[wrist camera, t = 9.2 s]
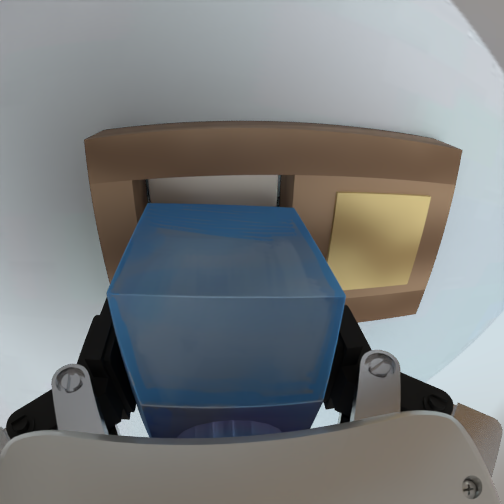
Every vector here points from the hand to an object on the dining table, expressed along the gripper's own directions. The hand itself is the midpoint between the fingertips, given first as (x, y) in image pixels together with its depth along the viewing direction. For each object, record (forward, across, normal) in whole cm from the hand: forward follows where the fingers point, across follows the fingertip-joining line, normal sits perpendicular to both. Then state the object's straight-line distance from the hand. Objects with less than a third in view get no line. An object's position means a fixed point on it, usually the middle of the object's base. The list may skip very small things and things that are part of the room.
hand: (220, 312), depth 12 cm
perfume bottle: (+3, 0, 0) cm, 3 cm away
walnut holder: (+8, -4, 0) cm, 9 cm away
